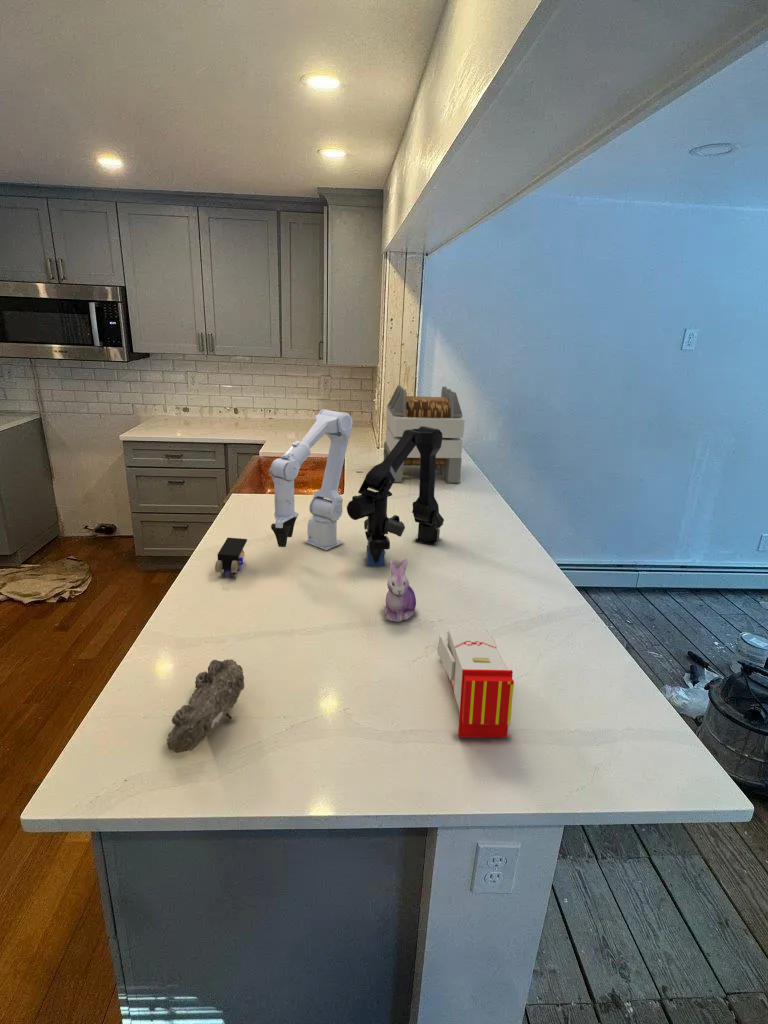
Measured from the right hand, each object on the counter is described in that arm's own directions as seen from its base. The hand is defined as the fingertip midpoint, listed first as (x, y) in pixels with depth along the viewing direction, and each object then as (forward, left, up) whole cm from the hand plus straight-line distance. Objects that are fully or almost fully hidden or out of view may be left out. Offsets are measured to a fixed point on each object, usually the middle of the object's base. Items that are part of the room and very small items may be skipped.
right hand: (375, 559), depth 176 cm
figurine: (+19, -26, -1) cm, 32 cm away
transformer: (-24, +103, -1) cm, 106 cm away
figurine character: (-35, -25, -1) cm, 43 cm away
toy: (+44, -48, -1) cm, 65 cm away
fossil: (+2, -78, -1) cm, 78 cm away
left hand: (-24, -14, +6) cm, 28 cm away
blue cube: (0, 0, -1) cm, 1 cm away
